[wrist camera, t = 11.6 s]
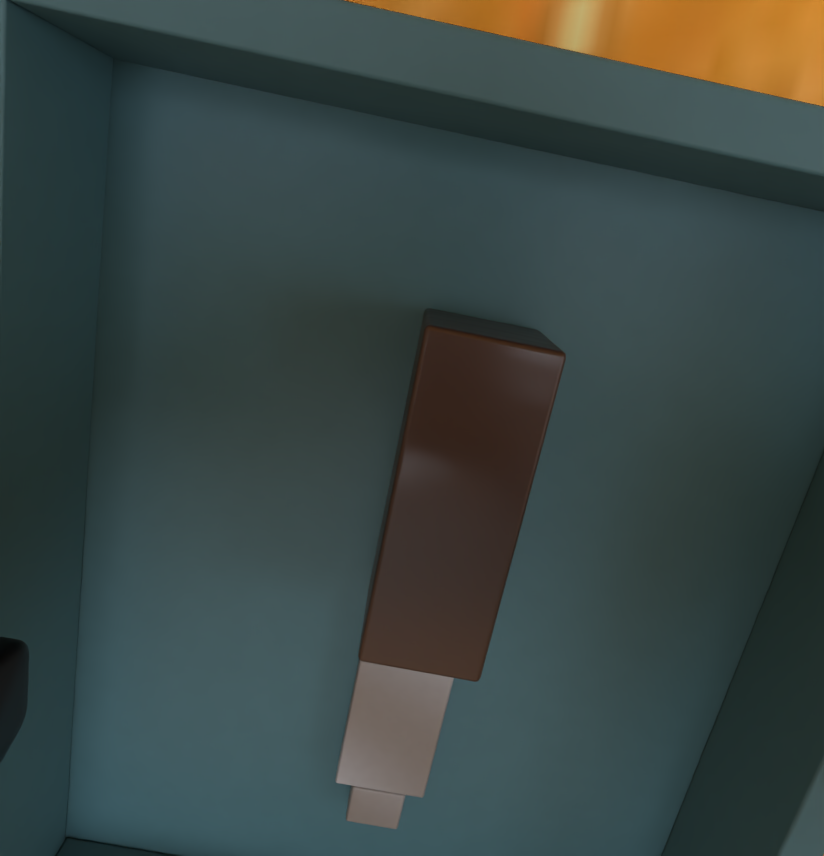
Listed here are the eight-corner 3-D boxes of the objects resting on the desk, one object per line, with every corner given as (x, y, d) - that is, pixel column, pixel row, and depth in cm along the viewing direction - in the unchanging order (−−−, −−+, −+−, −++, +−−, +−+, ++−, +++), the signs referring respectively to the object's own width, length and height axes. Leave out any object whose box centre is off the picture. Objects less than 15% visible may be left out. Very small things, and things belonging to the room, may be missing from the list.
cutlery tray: (947, 194, 12) (1160, 179, 8) (644, 934, 17) (699, 1111, 14) (87, 7, 11) (-61, -91, 8) (45, 833, 17) (-54, 992, 13)
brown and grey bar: (425, 307, 12) (425, 324, 10) (541, 330, 12) (568, 352, 10) (326, 796, 15) (309, 895, 13) (419, 811, 15) (418, 913, 13)
